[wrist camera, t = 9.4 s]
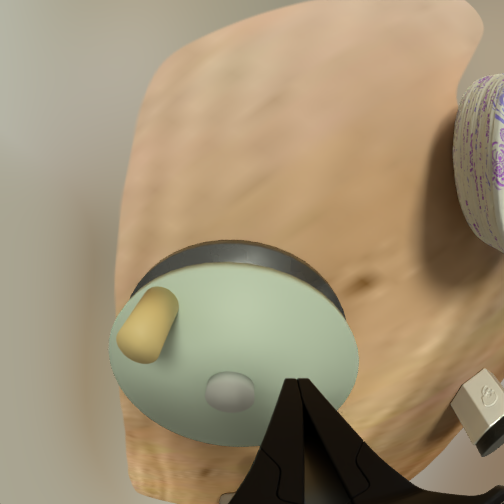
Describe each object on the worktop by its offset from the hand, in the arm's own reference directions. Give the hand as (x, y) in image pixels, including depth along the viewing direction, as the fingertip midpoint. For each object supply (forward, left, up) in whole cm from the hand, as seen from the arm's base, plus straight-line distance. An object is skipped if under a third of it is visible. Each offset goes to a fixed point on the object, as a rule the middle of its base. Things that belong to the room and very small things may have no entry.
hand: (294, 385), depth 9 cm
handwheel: (-9, +2, -9) cm, 13 cm away
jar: (-20, -34, -13) cm, 42 cm away
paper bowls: (+11, -19, -13) cm, 26 cm away
